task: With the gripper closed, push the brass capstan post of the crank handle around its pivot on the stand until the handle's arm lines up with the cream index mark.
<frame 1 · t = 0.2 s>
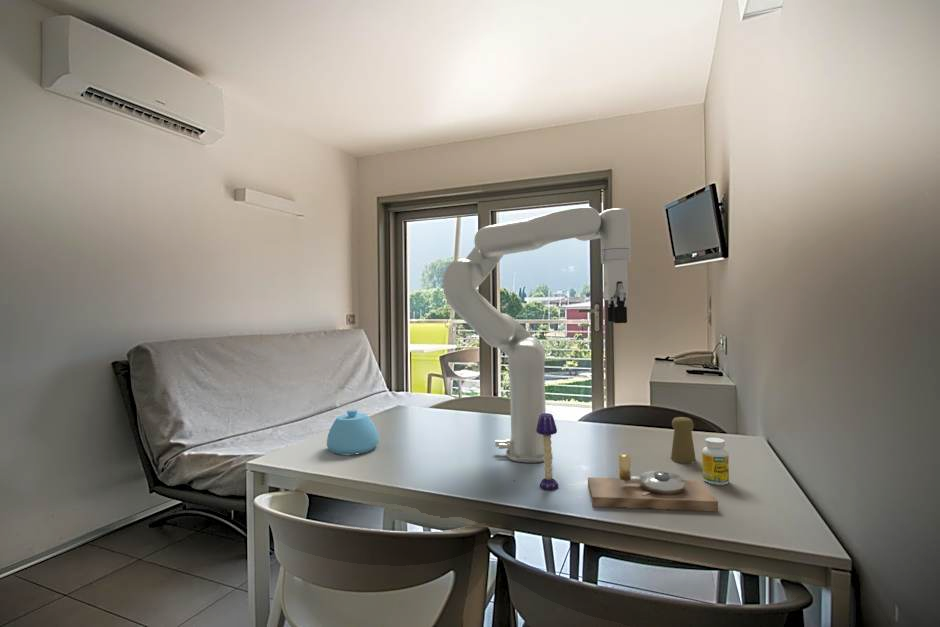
hand: (617, 322, 126), 36 cm above the table, tool pointing down, fingers open, 9 cm apart
supplement bottle: (715, 482, 110), on the table
sugar bowl: (353, 449, 142), on the table
stand plate: (648, 497, 102), on the table
crank handle: (651, 470, 102), point 5 cm above the table, hinge at 0.0°
cork: (683, 460, 125), on the table
toy lamp: (548, 488, 109), on the table
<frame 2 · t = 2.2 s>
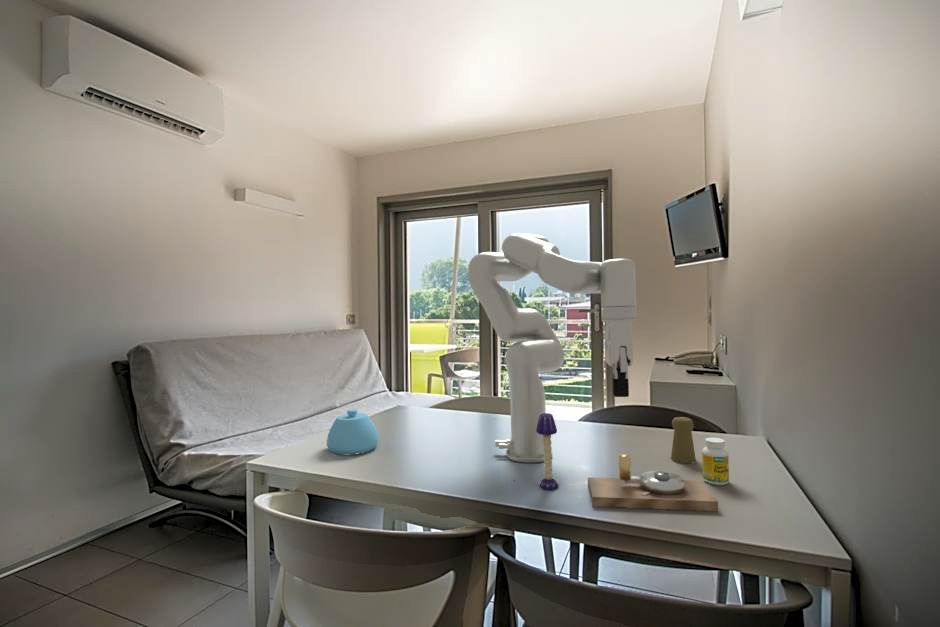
hand: (620, 396, 108), 21 cm above the table, tool pointing down, fingers closed
nothing on the table moved.
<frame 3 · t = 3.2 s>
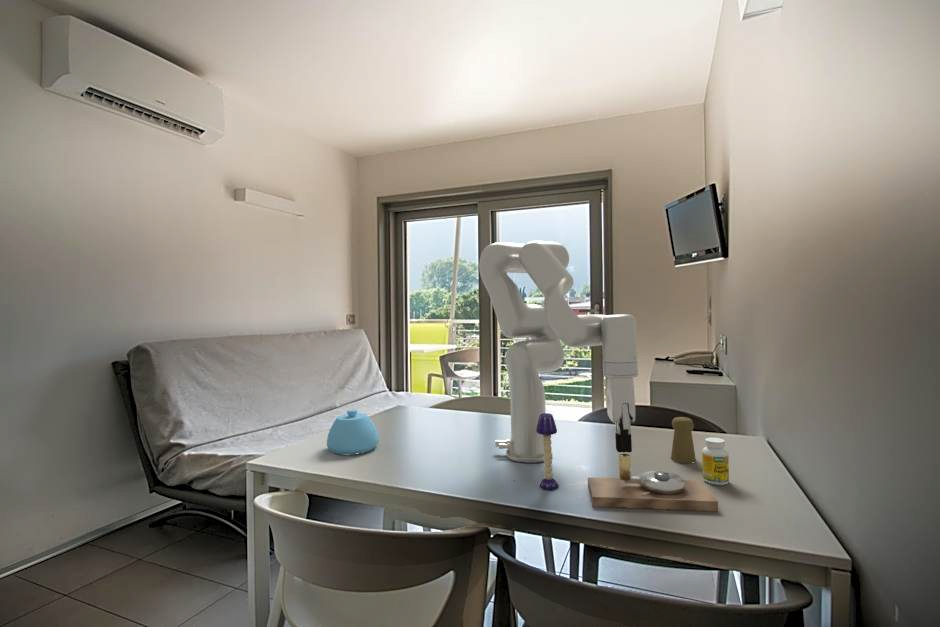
hand: (623, 451, 107), 8 cm above the table, tool pointing down, fingers closed
nothing on the table moved.
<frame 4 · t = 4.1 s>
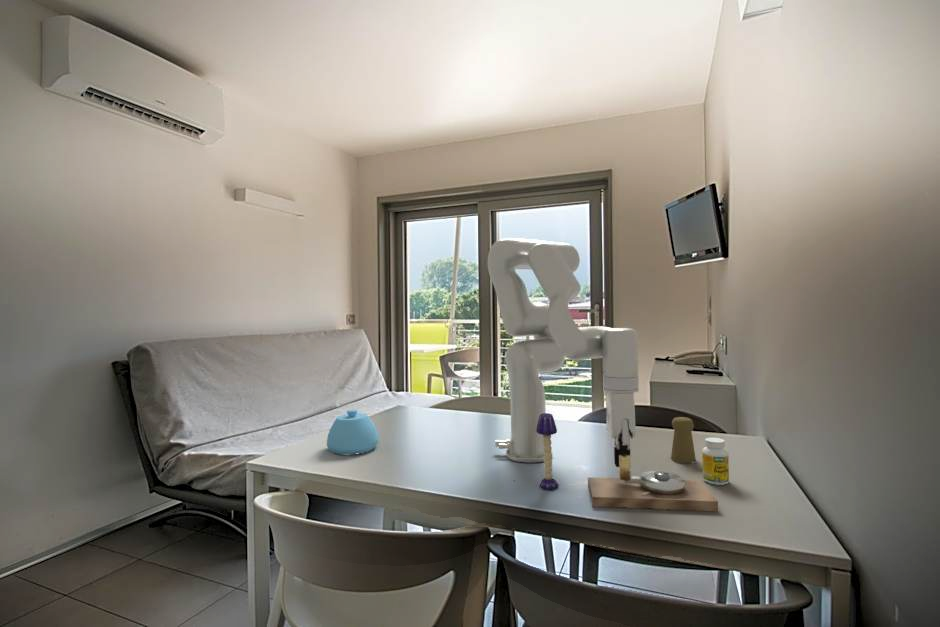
hand: (622, 465, 107), 5 cm above the table, tool pointing down, fingers closed
crank handle: (651, 470, 102), point 5 cm above the table, hinge at 0.4°, touching gripper
everything else where it was.
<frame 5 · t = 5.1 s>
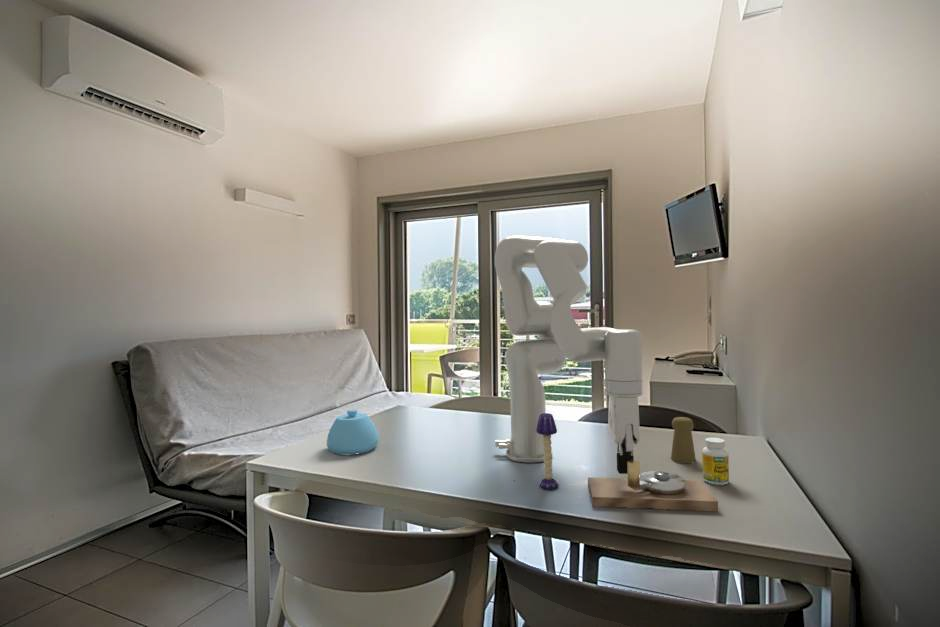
hand: (625, 472, 103), 5 cm above the table, tool pointing down, fingers closed
crank handle: (653, 472, 101), point 5 cm above the table, hinge at 31.2°, touching gripper
everything else where it was.
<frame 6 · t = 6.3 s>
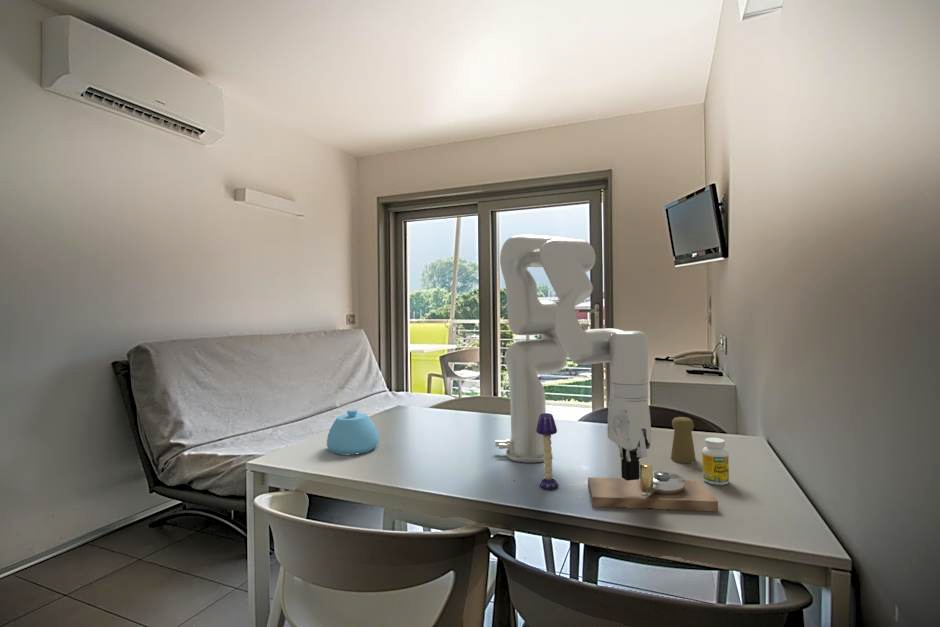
hand: (630, 478, 99), 5 cm above the table, tool pointing down, fingers closed
crank handle: (657, 473, 100), point 5 cm above the table, hinge at 55.3°, touching gripper
everything else where it was.
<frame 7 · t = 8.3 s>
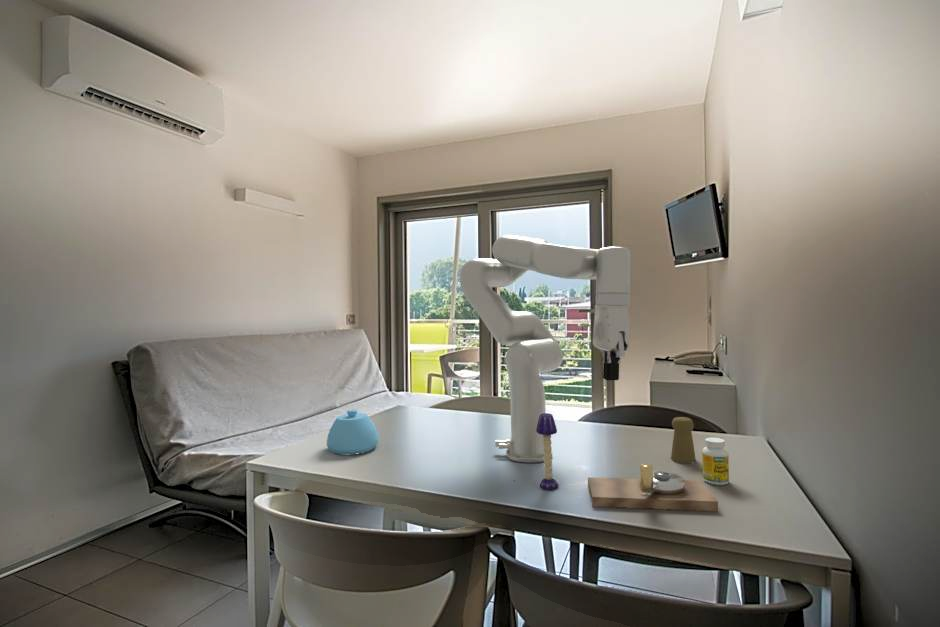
hand: (610, 379, 112), 24 cm above the table, tool pointing down, fingers closed
crank handle: (657, 473, 100), point 5 cm above the table, hinge at 55.4°
everything else where it was.
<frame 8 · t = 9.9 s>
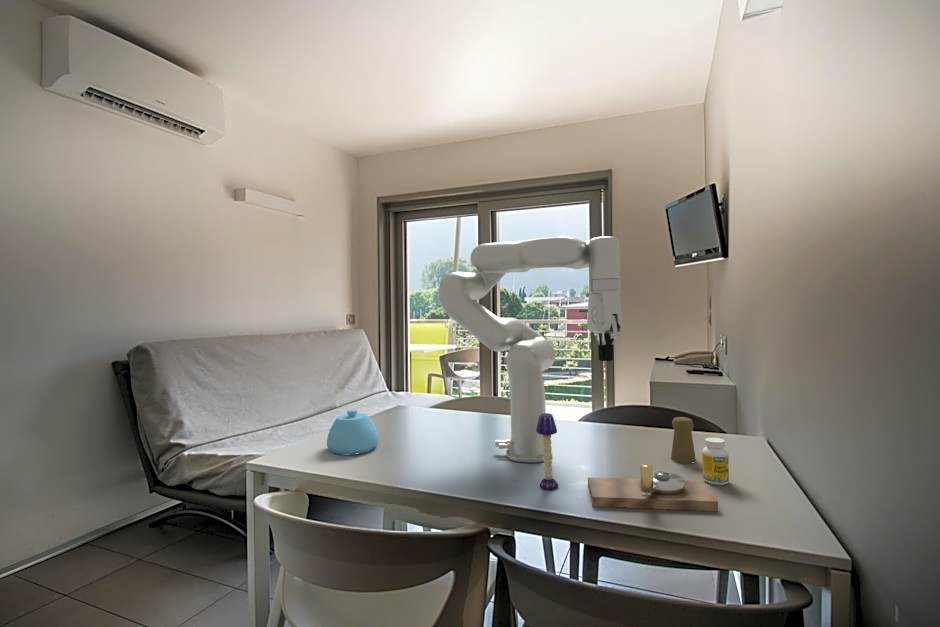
hand: (606, 360, 120), 27 cm above the table, tool pointing down, fingers closed
nothing on the table moved.
at the end: crank handle at +55° (first picture: +0°) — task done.
